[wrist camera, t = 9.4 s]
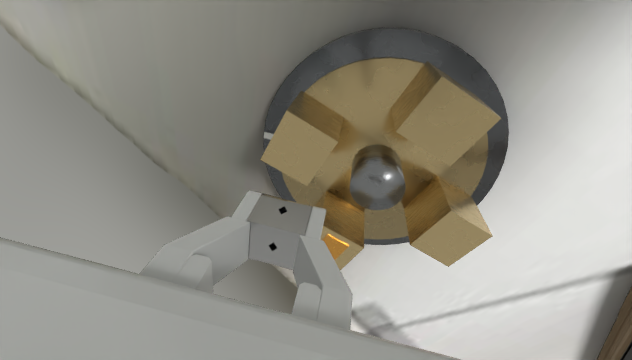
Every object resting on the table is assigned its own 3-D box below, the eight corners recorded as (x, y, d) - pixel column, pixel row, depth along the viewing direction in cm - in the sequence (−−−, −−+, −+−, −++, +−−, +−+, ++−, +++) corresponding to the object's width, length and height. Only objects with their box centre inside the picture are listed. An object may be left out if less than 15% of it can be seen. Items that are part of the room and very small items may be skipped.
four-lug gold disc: (348, 4, 21) (342, 6, 16) (537, 138, 25) (582, 175, 19) (252, 181, 32) (230, 216, 27) (392, 258, 35) (396, 303, 30)
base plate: (561, 62, 23) (574, 67, 21) (437, 255, 36) (440, 265, 35) (279, -1, 24) (274, -1, 22) (260, 210, 37) (256, 219, 36)
